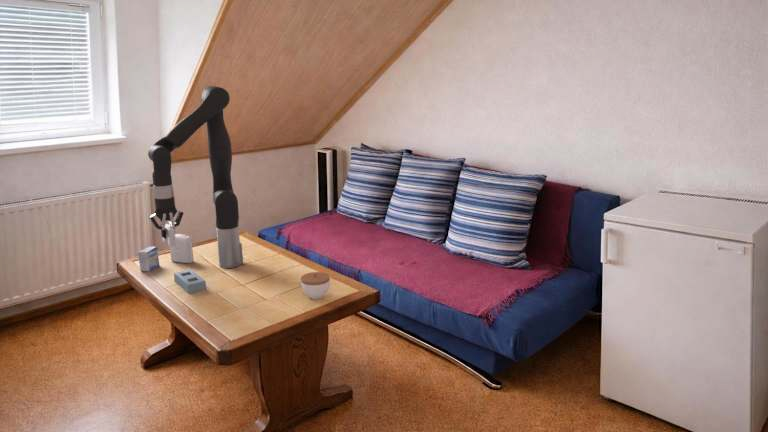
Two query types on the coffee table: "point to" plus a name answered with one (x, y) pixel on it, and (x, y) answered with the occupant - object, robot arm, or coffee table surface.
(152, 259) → the medicine box
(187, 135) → the robot arm
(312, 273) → the lidded jar
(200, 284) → the blue-grey slotted block
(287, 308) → the coffee table surface
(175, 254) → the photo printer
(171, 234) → the metal block
